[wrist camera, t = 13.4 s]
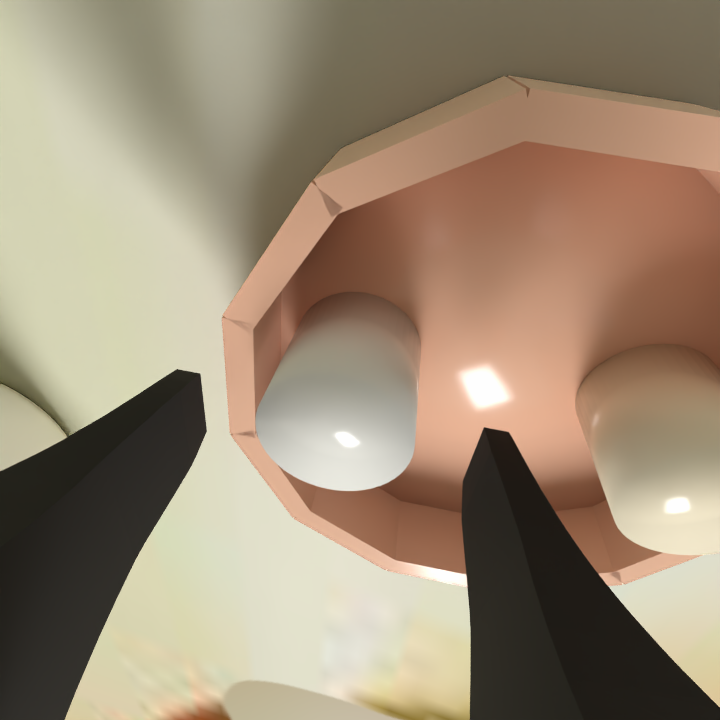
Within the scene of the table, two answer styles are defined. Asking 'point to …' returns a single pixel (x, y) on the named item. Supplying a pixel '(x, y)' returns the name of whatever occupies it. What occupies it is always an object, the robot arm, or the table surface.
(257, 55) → the table surface
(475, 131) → the bowl
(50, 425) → the mug
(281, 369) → the pale grey cylinder
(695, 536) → the cream marshmallow
